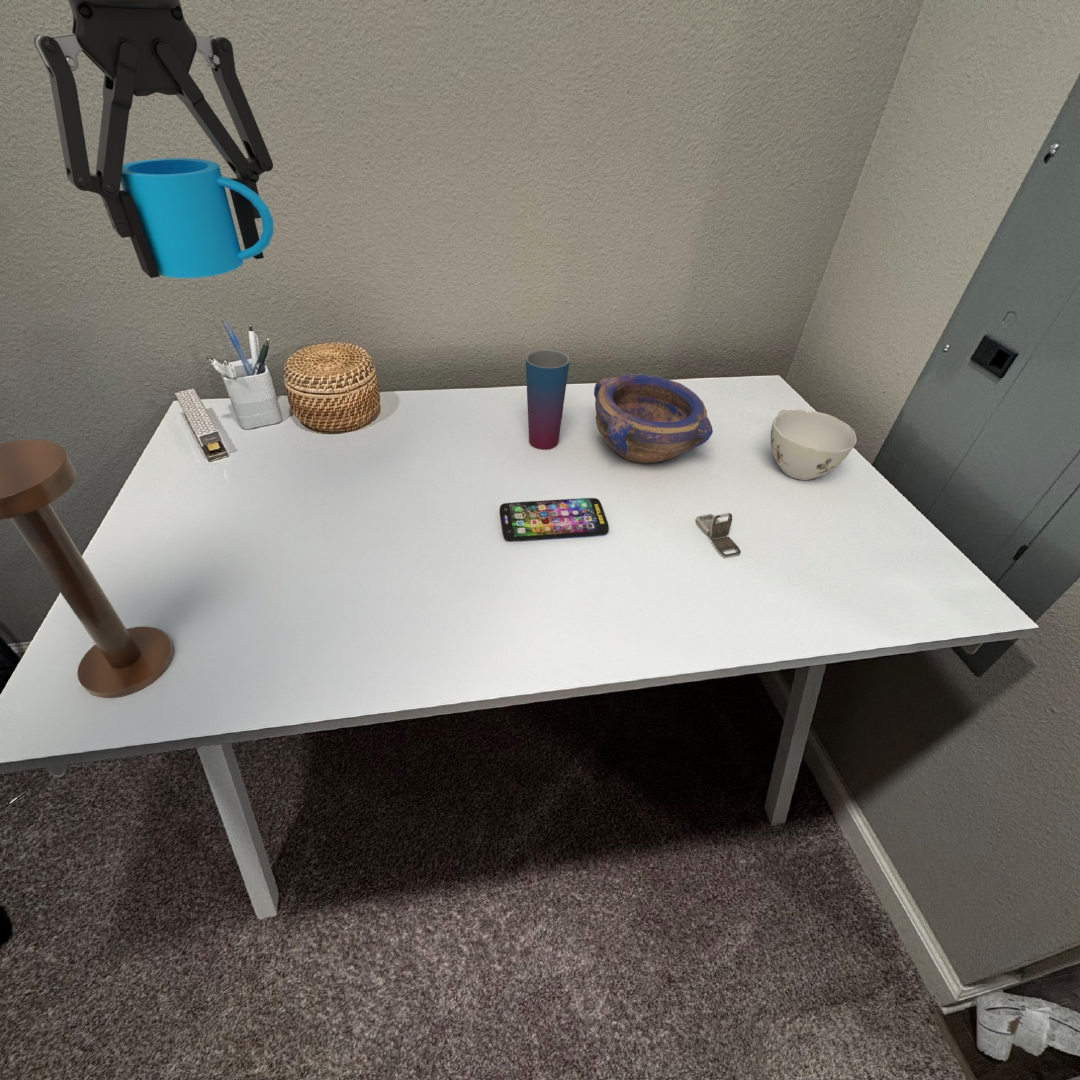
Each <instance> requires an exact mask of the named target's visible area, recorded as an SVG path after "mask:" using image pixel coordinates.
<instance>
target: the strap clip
mask: <svg viewBox="0 0 1080 1080" xmlns="http://www.w3.org/2000/svg"><path fill="white" fill-rule="evenodd" d="M726 517H727V520H722V521H721V520H720V518H726ZM695 523H696V525H697V527H698V528H699V530H701V531H702V533H703V534H704V535H705V536H707V537H710V538H711V544H712V546H713V547H714V549H715V550H716V552H717V553H718V554H719V555H720V556H721V557H723V558H730V557H735V556H739V555H741V553H742V551H741V549H740V547H739V546H738V545H737V543H735V541H734V540H733V539H732V538H731V537H730V536H728V535H729V534H730V530H731V527H732V523H733V514H732V513H731V512H727V513H721V514H715V515H714V514H712V513H709V514H704V515H698V516H696V517H695ZM733 550H735V552H731V553H725V552H729V551H733Z"/></svg>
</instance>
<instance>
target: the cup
mask: <svg viewBox="0 0 1080 1080" xmlns="http://www.w3.org/2000/svg"><path fill="white" fill-rule="evenodd" d="M570 361H571V359H570V356H569V355H568V354H567V353H566V352H564V351H561V350H560V349H559V350H558V349H554V348H537V349H533V350H531V351H529V352H527V353H526V355H525V377H526V380H525V381H526V402H527V406H526V407H527V426H528V429H527V430H528V443H529V445H530V446H531V447H533V448H534V449H538V450H551V449H554V448H556V447H558V445H559V441H560V433H561V426H562V419H563V412H564V404H565V399H566V398H565V396H566V390H567V383H568V375H569V367H570Z"/></svg>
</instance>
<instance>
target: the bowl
mask: <svg viewBox="0 0 1080 1080" xmlns="http://www.w3.org/2000/svg"><path fill="white" fill-rule="evenodd" d="M593 395H594V399H595V401H594V406H595V412H596V414H595V424H596V428H597V430H598V432H599V434H600V435H601V437H602V439H603V440H604V442H605V443H606V444H607V445H608V446H609V447H610V448H611V449H612V450H614V451H615V452H616V453H617V454H618V455H619V456H621V457H623V458H624V459H626V460H628V461H631V462H634V463H637V464H639V463H640V464H641V463H643V464H644V463H645V464H647V463H651V464H652V463H657V462H662V461H667V460H670V459H672V458H675V457H677V456H678V455H680V454H683V453H685V452H688V451H690V450H694V449H695V448H698V447H700V446H701V445H703V444H705V443H707V442H708V441H709V439H711V436H712V435H713V432H714V430H713V426H712V423H711V420H710V419H709V417H708V410H707V408H706V406H705V404H704V402H703V400H702V399H701V398H700V397H699V396H698V395H697V394H696V393H695V392H694V391H692V390H691V389H690V388H689V387H687V386H686V385H684V384H682V383H681V382H678V381H675V380H672V379H667V378H665V377H660V376H657V375H656V376H655V375H650V374H644V373H637V374H634V373H633V374H624V375H619V376H614V377H604V378H602V379H600V380H598V381H597V382H596V383H595V385H594V389H593Z"/></svg>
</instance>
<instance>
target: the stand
mask: <svg viewBox="0 0 1080 1080" xmlns="http://www.w3.org/2000/svg"><path fill="white" fill-rule="evenodd" d="M76 478H77V471H76V468H75V466H74V464H73V462H72V460H71V459H70V456H69V455H68V453H67V451H66V450H65V448H64V447H63V446H61V445H60V444H58V443H56V442H53V441H50V440H44V439H19V440H12V441H6V442H1V443H0V521H3V520H8V519H10V521H11V522H12V524H13V525H14V527H15V528H16V529H17V531H18V532H19V534H20V535H21V537H22V538H23V540H24V541H25V543H26V544H27V546H28V547H29V549H30V550H31V551H32V553H33V554H34V556H35V557H36V559H37V560H38V562H39V563H40V565H41V566H42V568H43V569H44V570H45V572H46V573H47V575H48V577H49V578H50V579H51V581H52V582H53V584H54V586H55V587H56V588H57V590H58V591H59V593H60V594H61V596H62V597H63V598H64V600H65V602H66V603H67V604H68V606H69V608H70V609H71V611H72V612H73V613H74V615H75V616H76V617H77V619H78V621H79V622H80V624H81V625H82V626H83V628H84V629H85V631H86V632H87V634H88V636H89V637H90V638H91V639H92V641H93V643H94V645H93V646H91V647H90V648H89V649H88V651H87V652H86V653H85V654H84V655H83V657H82V658H81V660H80V662H79V664H78V667H77V679H78V682H79V684H80V685H81V686H82V687H83V689H84V690H85V691H86V692H87V693H88V694H90V695H92V696H94V697H97V698H104V699H111V698H113V699H115V698H121V697H125V696H128V695H132V694H134V693H136V692H140V691H141V690H143V689H145V688H146V687H148V686H150V685H151V684H153V683H154V682H156V681H157V680H159V678H160V677H161V676H162V675H163V674H164V673H165V672H166V671H167V669H168V668H169V666H170V665H171V663H172V660H173V657H174V646H173V643H172V641H171V639H170V637H169V636H168V634H166V632H164V631H163V630H161V629H159V628H157V627H154V626H143V625H142V626H133V627H132V626H131V627H128V628H127V627H126V625H125V624H124V623H123V621H122V619H121V618H120V616H119V614H118V613H117V611H116V609H115V608H114V606H113V605H112V603H111V602H110V601H111V600H109V597H108V596H107V595H106V593H105V592H104V589H102V587H101V585H100V584H99V581H98V580H97V579H96V577H95V575H94V574H93V572H92V570H91V569H90V567H89V565H88V564H87V562H86V560H85V558H83V556H82V554H81V553H80V551H79V549H78V548H77V546H76V544H75V543H74V541H73V540H72V538H71V536H70V535H69V533H68V531H67V530H66V528H65V527H64V525H63V523H62V522H61V520H60V518H59V517H58V515H57V514H56V512H55V510H54V509H53V507H52V505H51V504H52V503H53V502H55V501H56V500H58V499H59V498H61V497H62V496H64V494H66V493H67V492H68V491H69V490H70V489H71V487H72V486H73V485H74V483H75V482H76V480H77V479H76Z"/></svg>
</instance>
